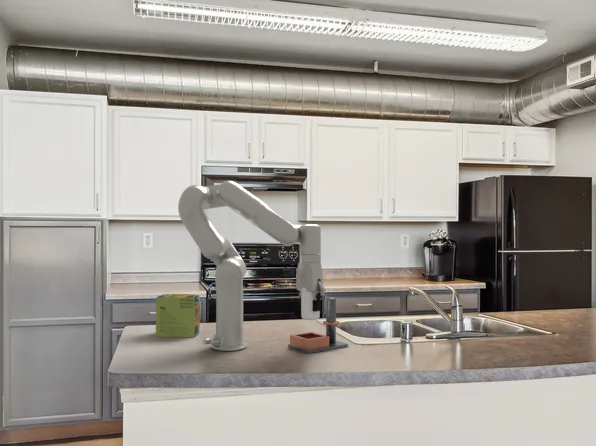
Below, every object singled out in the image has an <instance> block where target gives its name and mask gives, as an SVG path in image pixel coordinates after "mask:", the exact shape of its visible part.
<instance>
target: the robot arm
mask: <svg viewBox="0 0 596 446" xmlns="http://www.w3.org/2000/svg"><path fill="white" fill-rule="evenodd" d="M177 207H178V208H177V210H178V215H179V218H180V221H181V222H182V224H183V225H184V226H183V227H185V229H186V231H188V233H189V235H190V236H191V238H192V240H193V241H194V242H195V245H196V246H197V247H198V248H199V251H200V252H201V254H202V255H203V257H205V258H206V259H208V260H212V261H213V263H214V265H215V266H216V269H215V274H214V280H215V295H216V296H215V297H216V299H215V305H216V306H215V308H216V309H215V312H216V316H215V317H216V318H215V319H216V320H215V326H216V327H215V334H213V335H212V337H211V338H209V337H208V338H203V341H202V342H203V343H202V344H203V345H205V346H206V345H211V348H212V349H213V350H216V351H221V352H222V351H223V352H231V351H233V352H235V351H241V350H245V349H247V348H248V343H247V341H244V284H243V283H244V281H243V279H244V278H245V276H246V273H247V265H246V263H245V261H244V260H243V258H242V257H241V255H240V254H239V251H237V250H236V248H235V246H234V245H233V243H232V242H231V240H230V239H229V238H228V236H226V235H225V234H224V233H220V232H218V230H217V229H216V228H215V226H214V224H213V223H212V222H211V220H210V218H209V217H208V216H207V215H206V213H205V211H204V210H209V209H215V208H222V207H228V208H229V209H231V210H232V211H234V212H235V213H237V214H238V215H240V217H242V218H244V219H245V220H247V221H248V222H249V223H251V224H252V225H253V226H255V227H257V228H259V230H261V231H263V232H264V233H265V234H267V235H268V236H270V238H273V239H274V240H275V241H276V242H277V243H279V244H282V245H284V246H286V247H287V246H288V247H289V246H292V245H296V244H299V262H298V265H297V269H296V281H295V282H296V284H295V288H296V290H297V293H298V297H299V309H300V310H301V290H302V288H305V289H306V291H307V292H312V294H313V298H314V300H313V311H314V312H316V311H320V312H321V309H322V307H321V306H322V304H321V303H322V301H321V300H322V299H323V296H324V294H325V293H326V291H327V290H326V288H325V286H324V279H323V278H324V276H323V267H322V262H321V261H322V260H321V259H322V251H321V250H322V249H321V248H322V246H321V245H322V244H321V243H322V240H321V239H322V237H321V236H322V235H321V234H322V233H321V232H322V230H321V226H320V225H319V224H315V223H314V224H312V223H309V224H308V223H307V224H292V223H291V222H289V221H287V220H286V219H284V218H283V217H282V216H280V215H279V214H277V213H276V212H275V211H274V210H272V209H271V208H270V207H269V206H268V204H267V203H265V202H264V201H263V200H261V199H260V198H258V197H257V196H256V195H254V194H252V193H251V192H250V191H248V190H247V189H245V188H244V187H242V185H240V184H239V183H237V182H235V181H233V180H225V181H223V182H221V183H219V184H215V185H205V186H202V185H199V184H193V185H190V186H188V187H186V188H185V189H184V190H183V191H182V193H181V195H180V197H179V200H178V206H177ZM316 289H318V291H316ZM316 293H318V294H317V295H316Z"/></svg>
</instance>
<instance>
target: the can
mask: <svg viewBox="0 0 596 446" xmlns="http://www.w3.org/2000/svg"><path fill="white" fill-rule="evenodd" d="M316 291H318V289H316ZM317 294H318V293H316V295H317ZM313 300H314V298H313V294H312V292H307V291H306V289H305V288H302V290H301V309H300V311H301V313H300V315H301V316H300V317H301V319H303V320H307V321H308V320H309V321H313V320H318V319H319V318H321V317H320V314H321V310H320V311H316V312H314V311H313Z"/></svg>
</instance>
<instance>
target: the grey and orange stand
mask: <svg viewBox="0 0 596 446" xmlns="http://www.w3.org/2000/svg"><path fill="white" fill-rule="evenodd" d="M325 299H326V301H325V304H326V305H325V320H323V321H322V325H323V326H325V334H322V333H318V332H313V331H309V332H302V333H295V334H290V335H289V344H287V348H290V349H293V350H296V351H299V352H301V353H306V354H308V355H311V354H315V353H321V352H326V351H332V350H339V349H344V348H349V343H346V342H342V341H338V340H337V326H339V325H340V321H339V320H337V297H326V298H325Z"/></svg>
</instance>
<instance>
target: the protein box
mask: <svg viewBox="0 0 596 446" xmlns="http://www.w3.org/2000/svg"><path fill="white" fill-rule="evenodd" d="M155 300H156V301H155V337H156V338H195V337H196V336H197V335H198V334H199V333H201V293H163V294H160V295H158V296H157V297H156V299H155Z"/></svg>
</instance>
